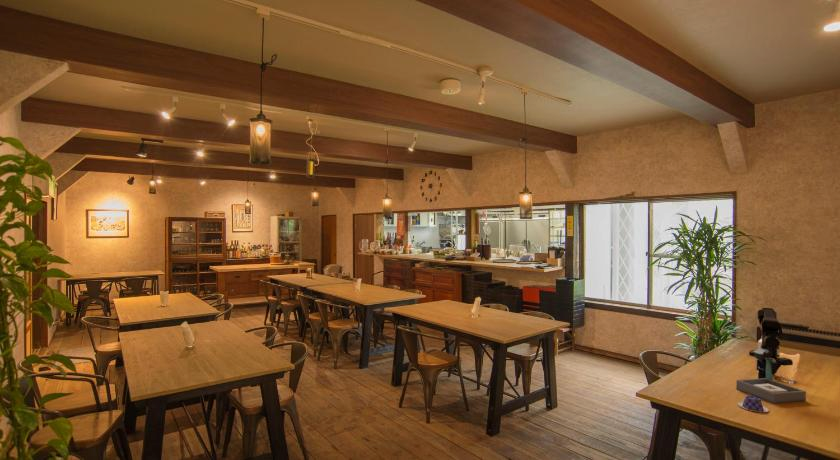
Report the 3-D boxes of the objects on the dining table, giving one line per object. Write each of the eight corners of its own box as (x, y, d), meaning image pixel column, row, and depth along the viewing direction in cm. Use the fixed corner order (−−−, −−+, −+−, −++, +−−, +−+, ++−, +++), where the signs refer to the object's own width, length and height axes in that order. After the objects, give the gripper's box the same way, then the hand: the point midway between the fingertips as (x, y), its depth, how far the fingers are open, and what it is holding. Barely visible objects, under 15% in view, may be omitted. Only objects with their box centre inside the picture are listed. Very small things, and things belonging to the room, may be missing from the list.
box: (766, 387, 238) (766, 378, 238) (805, 401, 218) (805, 391, 218) (736, 389, 234) (736, 380, 234) (773, 404, 214) (773, 393, 214)
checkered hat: (760, 415, 201) (761, 404, 201) (732, 406, 211) (732, 395, 211) (774, 411, 206) (774, 400, 206) (745, 402, 217) (745, 391, 217)
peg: (769, 376, 228) (769, 359, 228) (775, 378, 225) (775, 361, 225) (764, 376, 227) (764, 359, 227) (770, 378, 224) (770, 361, 224)
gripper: (740, 340, 234) (740, 368, 234) (775, 349, 215) (775, 380, 215) (757, 339, 236) (757, 368, 236) (793, 348, 218) (793, 379, 218)
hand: (769, 373), depth 226 cm, fingers closed on peg, 3 cm apart
